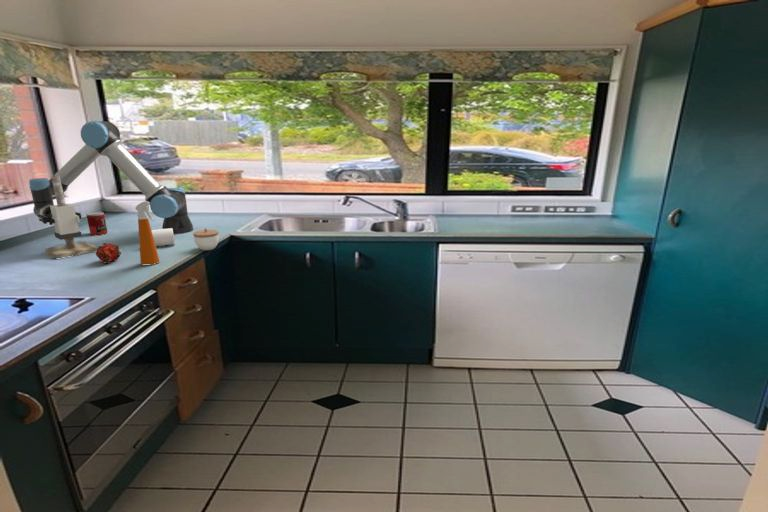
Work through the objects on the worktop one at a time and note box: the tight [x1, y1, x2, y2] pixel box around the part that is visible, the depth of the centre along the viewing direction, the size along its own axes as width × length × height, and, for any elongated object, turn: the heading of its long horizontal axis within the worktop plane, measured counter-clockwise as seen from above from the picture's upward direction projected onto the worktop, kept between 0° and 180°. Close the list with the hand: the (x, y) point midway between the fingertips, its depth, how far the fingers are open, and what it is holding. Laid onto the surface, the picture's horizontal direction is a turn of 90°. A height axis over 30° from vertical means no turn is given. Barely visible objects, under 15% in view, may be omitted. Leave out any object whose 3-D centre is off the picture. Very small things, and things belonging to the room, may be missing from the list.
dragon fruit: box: [95, 242, 122, 263], centre depth 187 cm, size 8×8×12 cm
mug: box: [151, 228, 176, 247], centre depth 213 cm, size 12×10×8 cm
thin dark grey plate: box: [53, 230, 83, 241], centre depth 200 cm, size 8×8×2 cm
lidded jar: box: [193, 228, 220, 251], centre depth 206 cm, size 11×11×9 cm
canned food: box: [86, 211, 108, 236], centre depth 233 cm, size 8×8×11 cm
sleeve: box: [50, 203, 80, 235], centre depth 198 cm, size 7×7×12 cm
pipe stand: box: [44, 175, 98, 259], centre depth 197 cm, size 16×16×34 cm
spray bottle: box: [135, 201, 160, 265], centre depth 181 cm, size 7×11×26 cm, turn 58°
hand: (68, 220), depth 195 cm, fingers closed on sleeve, 7 cm apart
